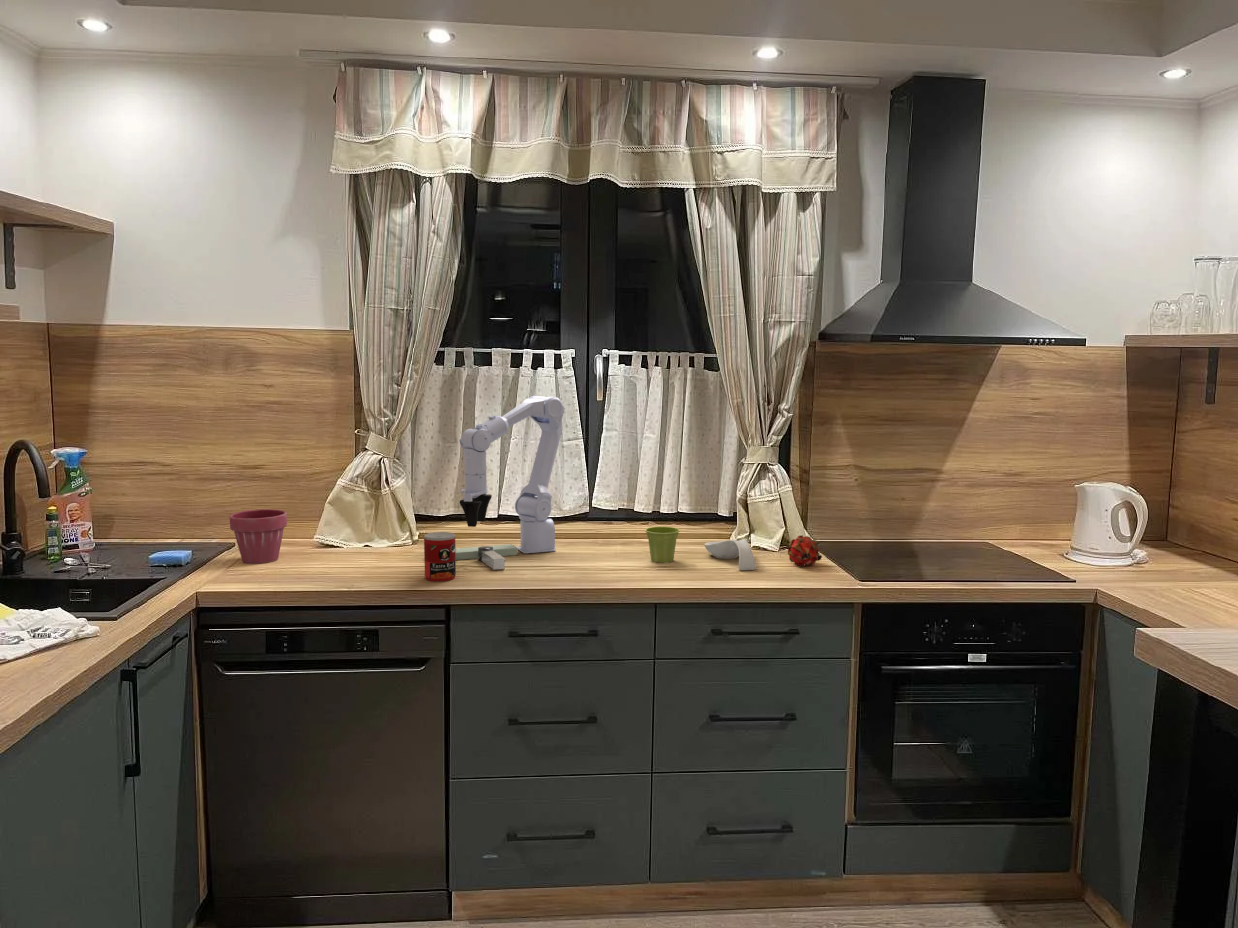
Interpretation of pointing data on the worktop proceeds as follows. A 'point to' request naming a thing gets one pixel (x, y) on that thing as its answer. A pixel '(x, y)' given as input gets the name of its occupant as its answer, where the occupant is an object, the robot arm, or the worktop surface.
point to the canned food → (440, 556)
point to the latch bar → (491, 558)
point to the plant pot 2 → (662, 543)
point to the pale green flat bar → (473, 551)
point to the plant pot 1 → (259, 534)
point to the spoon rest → (733, 552)
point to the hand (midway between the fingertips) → (476, 523)
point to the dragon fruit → (803, 551)
